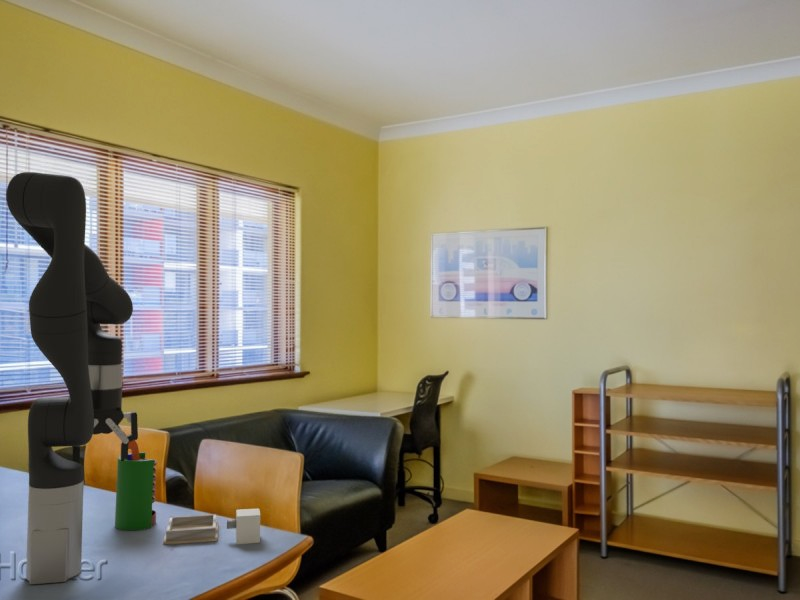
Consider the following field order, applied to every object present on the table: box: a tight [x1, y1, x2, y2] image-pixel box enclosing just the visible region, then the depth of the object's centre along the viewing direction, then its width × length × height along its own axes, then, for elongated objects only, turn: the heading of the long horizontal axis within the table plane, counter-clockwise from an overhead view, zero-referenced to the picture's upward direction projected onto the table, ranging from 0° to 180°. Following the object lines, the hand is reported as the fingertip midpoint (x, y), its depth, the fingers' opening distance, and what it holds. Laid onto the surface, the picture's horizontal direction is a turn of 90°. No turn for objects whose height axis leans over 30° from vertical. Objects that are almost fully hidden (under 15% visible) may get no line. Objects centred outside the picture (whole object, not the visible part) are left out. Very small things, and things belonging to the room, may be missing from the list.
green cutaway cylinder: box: [114, 440, 158, 531], centre depth 154 cm, size 10×9×20 cm
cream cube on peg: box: [226, 508, 261, 545], centre depth 144 cm, size 5×7×6 cm
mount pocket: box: [162, 513, 219, 546], centre depth 147 cm, size 11×11×3 cm
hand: (100, 462), depth 138 cm, fingers open, 8 cm apart
